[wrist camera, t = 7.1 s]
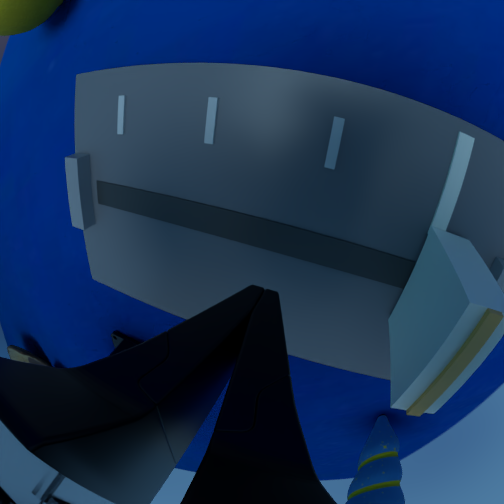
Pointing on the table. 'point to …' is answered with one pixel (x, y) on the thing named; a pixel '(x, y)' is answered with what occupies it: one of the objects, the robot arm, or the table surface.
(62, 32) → the table surface
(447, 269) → the fader tab
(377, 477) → the ornament
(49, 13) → the lemon
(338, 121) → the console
